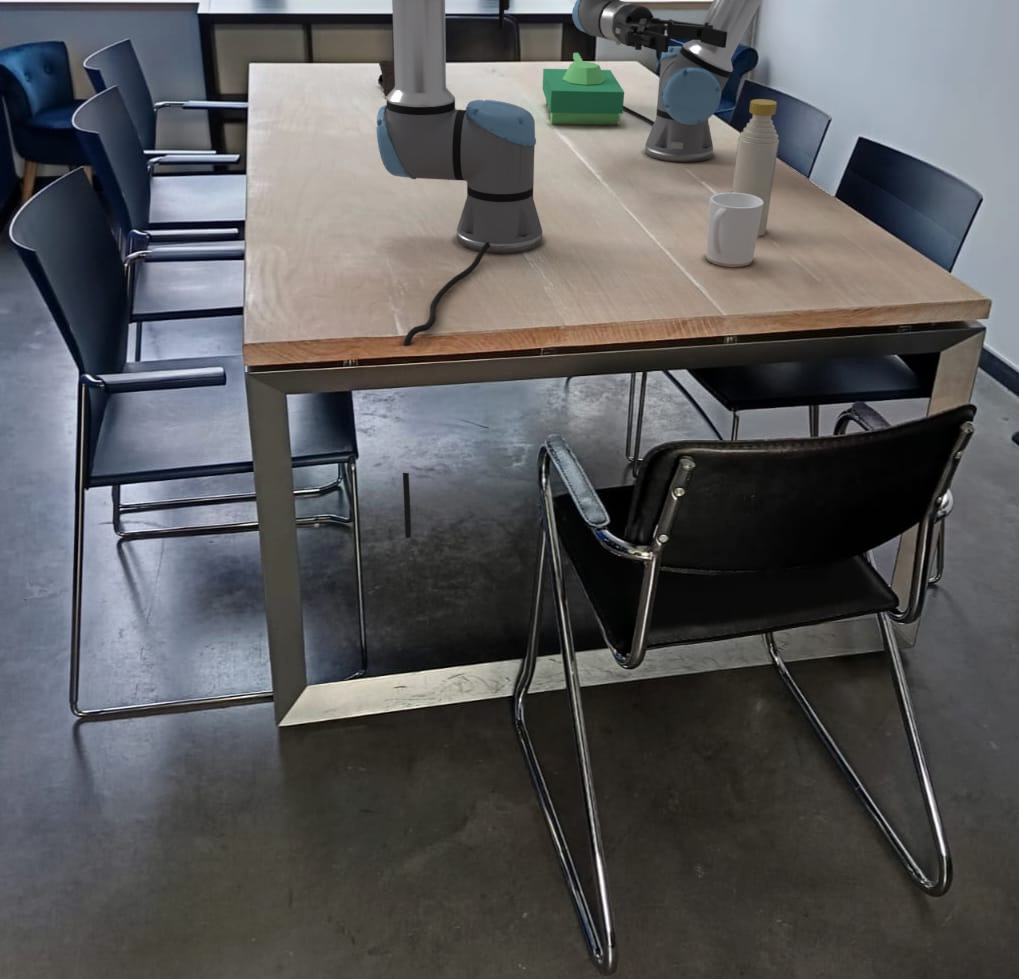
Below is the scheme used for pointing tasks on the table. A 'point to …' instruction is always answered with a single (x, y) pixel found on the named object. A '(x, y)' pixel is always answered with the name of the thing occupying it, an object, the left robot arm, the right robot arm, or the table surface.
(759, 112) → the cap
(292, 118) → the table surface
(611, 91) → the toy tank
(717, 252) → the mug
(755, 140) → the bottle
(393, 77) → the axe head
